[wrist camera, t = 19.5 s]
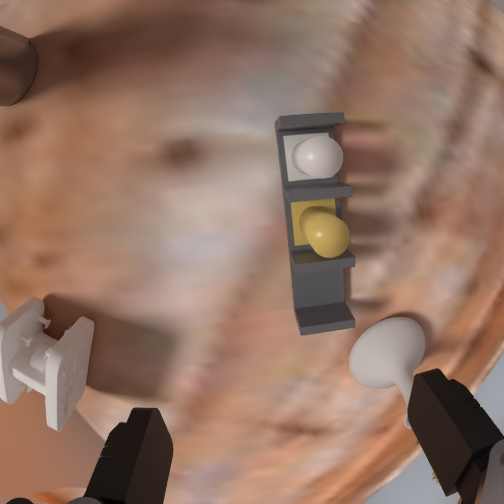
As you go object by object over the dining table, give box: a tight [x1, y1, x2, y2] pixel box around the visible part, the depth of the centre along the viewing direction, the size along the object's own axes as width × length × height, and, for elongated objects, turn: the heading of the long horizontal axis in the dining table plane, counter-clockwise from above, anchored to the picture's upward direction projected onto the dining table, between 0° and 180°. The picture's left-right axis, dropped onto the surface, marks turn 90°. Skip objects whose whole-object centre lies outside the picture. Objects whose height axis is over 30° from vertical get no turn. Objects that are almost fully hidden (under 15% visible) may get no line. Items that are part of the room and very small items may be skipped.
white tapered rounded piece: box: [349, 317, 440, 485], centre depth 29 cm, size 13×11×25 cm
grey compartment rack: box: [275, 112, 355, 336], centre depth 33 cm, size 22×6×6 cm, turn 7°
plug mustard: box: [299, 206, 350, 258], centre depth 31 cm, size 4×4×7 cm
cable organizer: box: [0, 297, 94, 431], centre depth 34 cm, size 15×11×12 cm
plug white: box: [291, 136, 343, 179], centre depth 29 cm, size 4×4×7 cm
